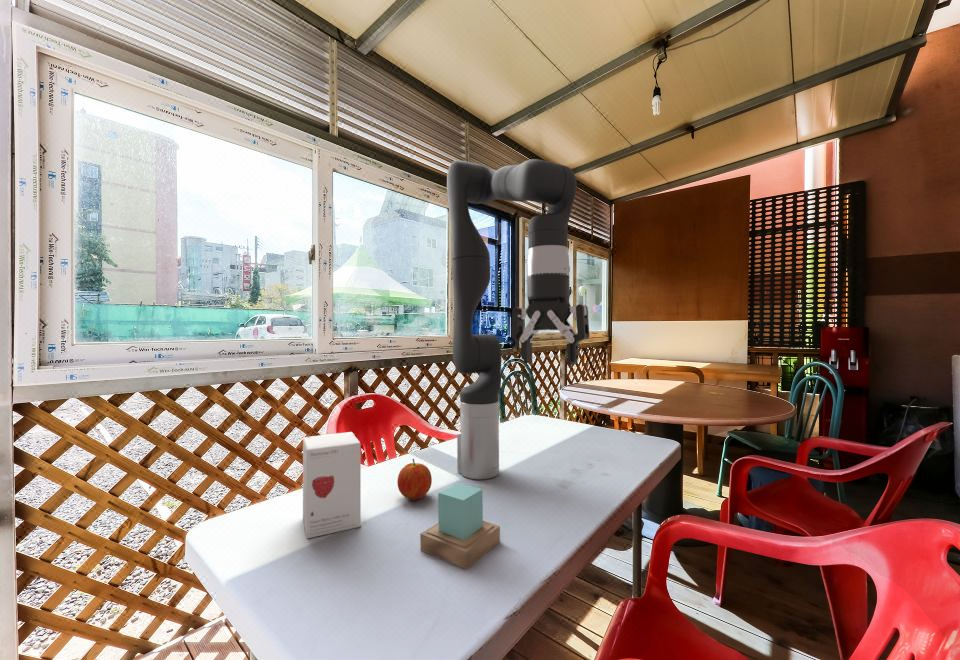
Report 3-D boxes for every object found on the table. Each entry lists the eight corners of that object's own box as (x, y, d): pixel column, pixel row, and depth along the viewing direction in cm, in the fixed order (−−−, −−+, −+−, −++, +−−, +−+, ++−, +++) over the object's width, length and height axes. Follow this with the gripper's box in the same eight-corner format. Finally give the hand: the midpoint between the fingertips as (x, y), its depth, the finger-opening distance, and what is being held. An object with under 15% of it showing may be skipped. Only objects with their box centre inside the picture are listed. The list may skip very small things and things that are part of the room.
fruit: (438, 497, 81) (438, 458, 81) (411, 508, 76) (411, 467, 76) (417, 488, 86) (417, 451, 86) (390, 498, 81) (390, 459, 81)
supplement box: (305, 540, 65) (304, 449, 65) (302, 517, 73) (301, 436, 73) (362, 527, 69) (361, 441, 69) (353, 507, 77) (352, 430, 77)
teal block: (438, 530, 62) (438, 492, 62) (458, 518, 66) (458, 482, 66) (463, 540, 59) (463, 500, 59) (482, 526, 64) (482, 489, 64)
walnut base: (420, 549, 62) (420, 532, 62) (456, 526, 69) (456, 510, 69) (466, 569, 57) (466, 550, 57) (499, 541, 64) (499, 524, 64)
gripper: (503, 275, 72) (504, 363, 72) (578, 267, 64) (579, 367, 64) (523, 279, 79) (524, 360, 79) (593, 272, 70) (594, 363, 70)
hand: (548, 363), depth 71 cm, fingers open, 8 cm apart
